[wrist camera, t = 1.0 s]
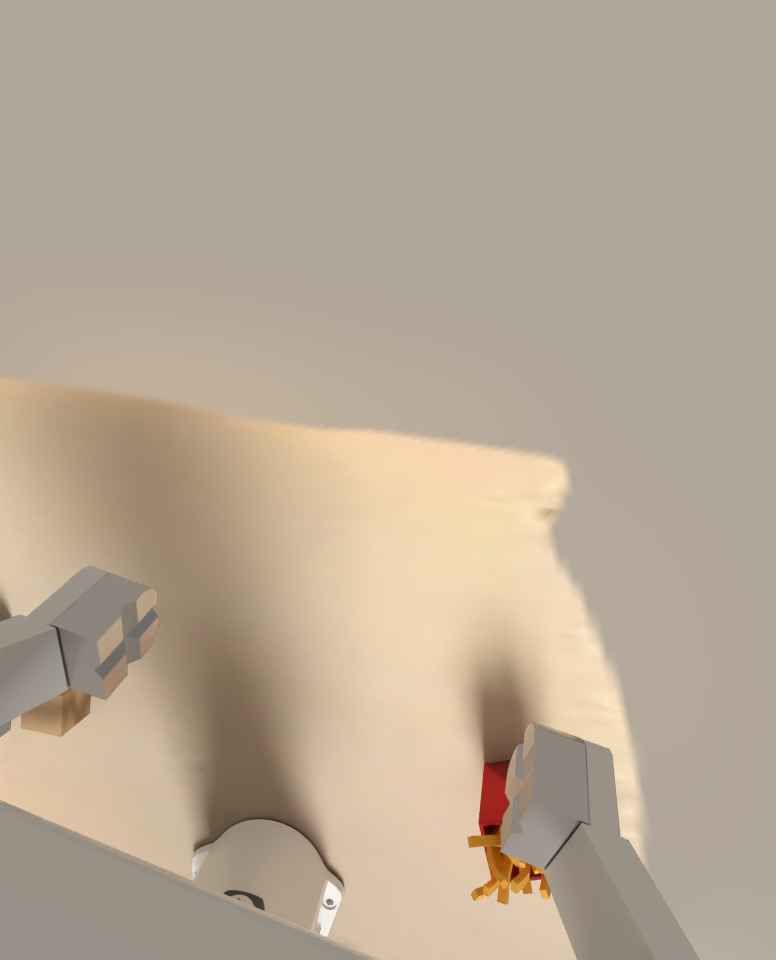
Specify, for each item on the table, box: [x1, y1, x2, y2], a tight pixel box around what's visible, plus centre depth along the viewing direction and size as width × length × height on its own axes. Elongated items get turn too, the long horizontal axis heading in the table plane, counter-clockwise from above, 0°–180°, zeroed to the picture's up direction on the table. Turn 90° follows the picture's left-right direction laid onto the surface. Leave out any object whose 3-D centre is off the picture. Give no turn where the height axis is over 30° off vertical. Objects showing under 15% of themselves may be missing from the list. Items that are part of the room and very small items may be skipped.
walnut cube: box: [21, 687, 91, 737], centre depth 65 cm, size 5×5×5 cm
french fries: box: [468, 760, 551, 904], centre depth 54 cm, size 9×8×15 cm
